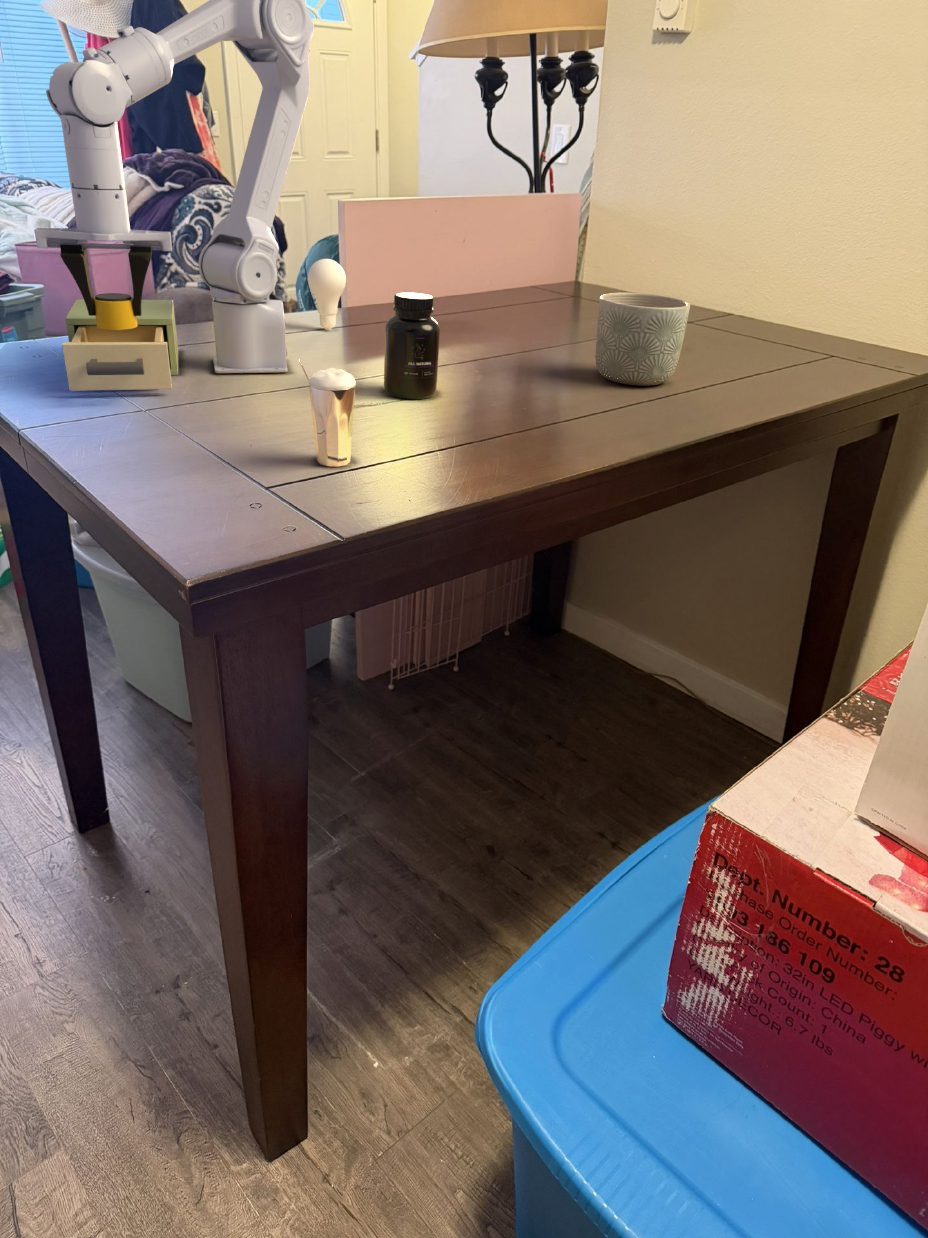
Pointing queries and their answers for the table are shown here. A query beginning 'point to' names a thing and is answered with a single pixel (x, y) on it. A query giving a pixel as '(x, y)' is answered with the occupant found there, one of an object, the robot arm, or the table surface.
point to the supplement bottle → (411, 348)
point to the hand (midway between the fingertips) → (115, 314)
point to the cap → (114, 311)
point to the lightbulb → (327, 289)
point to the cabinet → (151, 315)
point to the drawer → (117, 359)
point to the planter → (639, 337)
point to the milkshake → (332, 414)
